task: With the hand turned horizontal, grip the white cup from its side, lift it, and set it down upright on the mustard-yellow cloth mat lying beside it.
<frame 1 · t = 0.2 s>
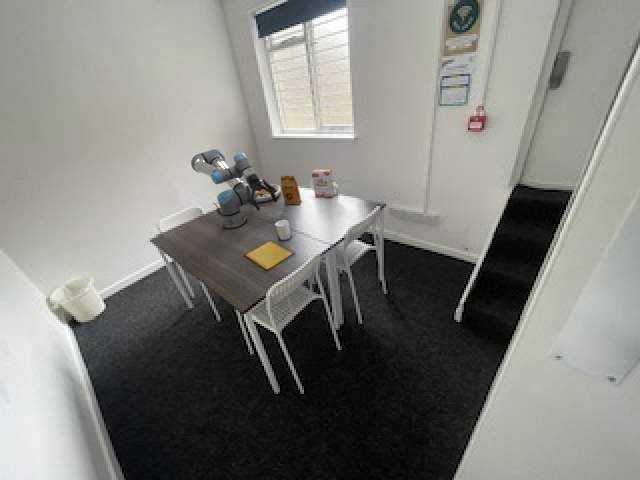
hand: (267, 205, 166), 15 cm above the table, tool tilted 35°, fingers open, 13 cm apart
coffee package: (293, 203, 203), on the table
cracker box: (324, 196, 205), on the table
white cup: (285, 237, 160), on the table
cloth: (269, 254, 146), on the table
bowl: (264, 196, 223), on the table
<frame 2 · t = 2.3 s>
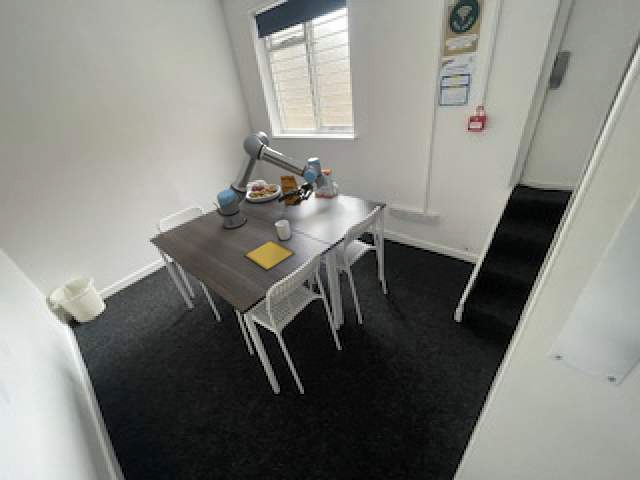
hand: (286, 202, 155), 20 cm above the table, tool horizontal, fingers open, 13 cm apart
nothing on the table moved.
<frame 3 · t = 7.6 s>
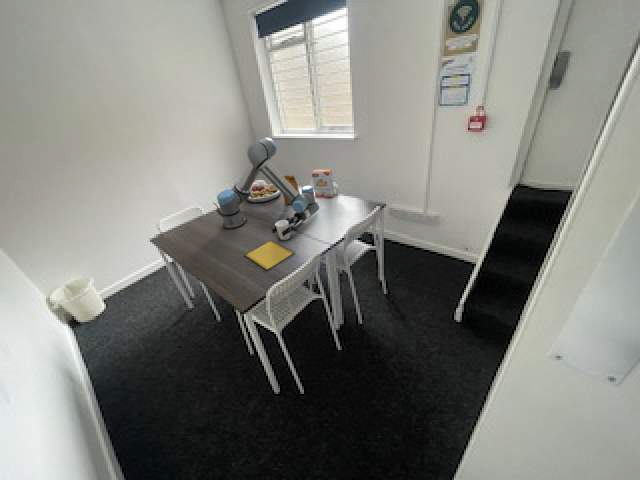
hand: (277, 232, 154), 6 cm above the table, tool horizontal, fingers closed on white cup, 8 cm apart
white cup: (285, 237, 160), on the table, touching gripper
everything else where it was.
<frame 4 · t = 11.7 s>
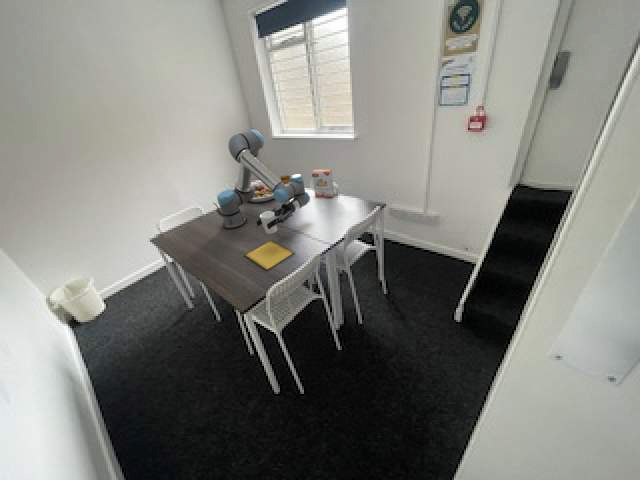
hand: (262, 225, 138), 18 cm above the table, tool horizontal, fingers closed on white cup, 8 cm apart
white cup: (271, 230, 144), point 12 cm above the table, touching gripper
everything else where it was.
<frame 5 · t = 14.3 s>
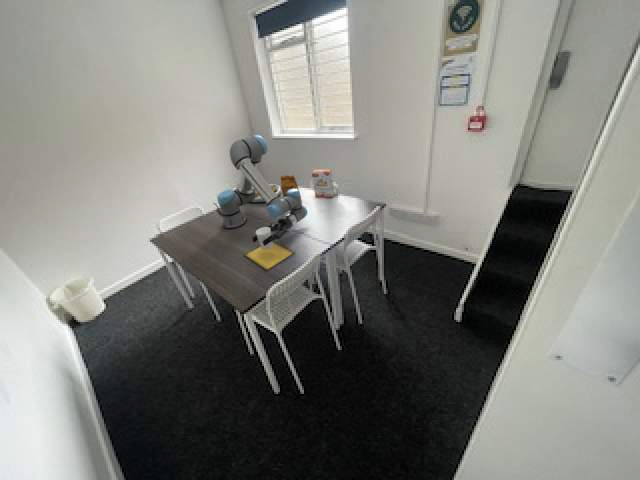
hand: (258, 241, 136), 12 cm above the table, tool horizontal, fingers closed on white cup, 8 cm apart
white cup: (267, 246, 142), point 6 cm above the table, touching gripper
everything else where it was.
when the fingers open (6 cm above the table, at t = 16.3 s): white cup stays where it is, resting on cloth.
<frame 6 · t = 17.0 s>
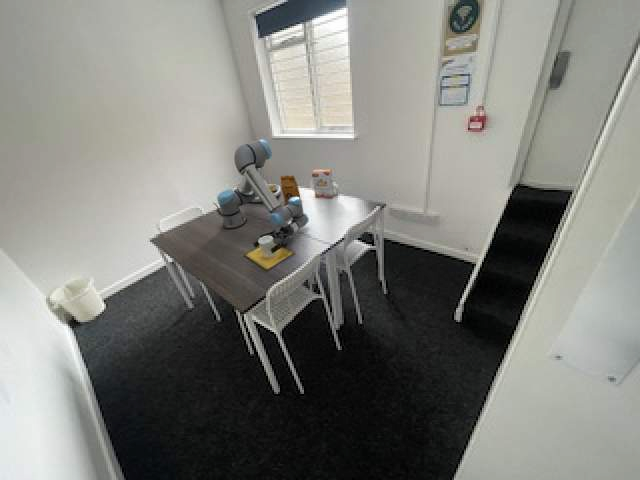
hand: (262, 248, 140), 7 cm above the table, tool horizontal, fingers open, 13 cm apart
white cup: (270, 254, 145), resting on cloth
everything else where it was.
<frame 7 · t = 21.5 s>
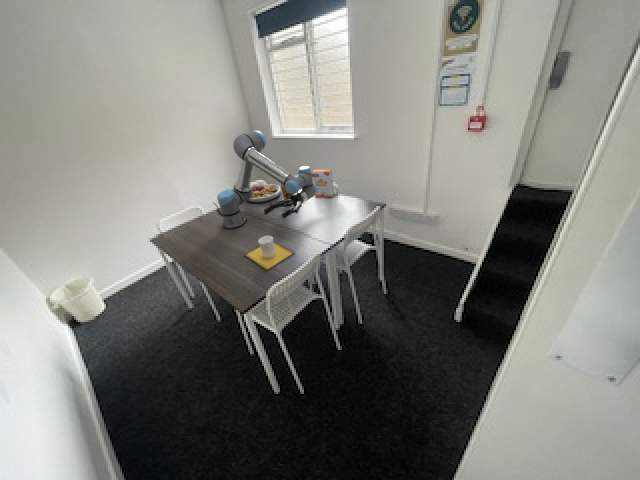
hand: (273, 214, 141), 21 cm above the table, tool horizontal, fingers open, 13 cm apart
nothing on the table moved.
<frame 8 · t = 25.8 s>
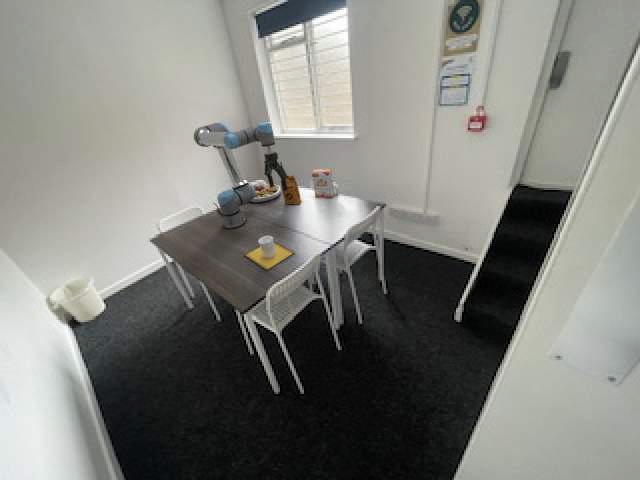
hand: (278, 188, 156), 27 cm above the table, tool pointing down, fingers open, 13 cm apart
nothing on the table moved.
at the end: white cup inside the target area on the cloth (1.0 cm from its centre), point 0.2 cm above the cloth's base; white cup tilted 0°; white cup touching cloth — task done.
